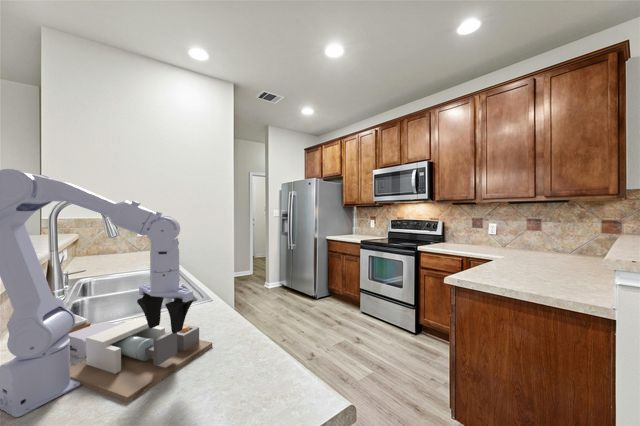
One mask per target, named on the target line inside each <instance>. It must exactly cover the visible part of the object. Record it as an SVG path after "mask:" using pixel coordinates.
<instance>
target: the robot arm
mask: <svg viewBox="0 0 640 426" xmlns="http://www.w3.org/2000/svg"><path fill="white" fill-rule="evenodd" d="M53 202H60V203H61V202H66V203H70V204H72V205H75V206H78V207H81V208H84V209H85V210H86V209H87V210H89V211H92V212H94V213H98V214H101V215H104V216H107V217H108V218H109V220H110V222H111V224H112V225H113V226H116V227H118V228H122V229H123V230H124V229H125V230H127V231H130V232H132V233H135V234H137V235H140V236H147V237H148V239H149V240H150V251H149V257H150V258H149V261H150V262H149V270H150V271H149V273H150V278H149V279H150V281H149V283H150V284H144V285H141V286H139V287H138V295H139V296H142V297H141V298H137V300H136V301H137V302H136V304H138V305H139V306H140V309H141V310H142V312H143V314H144V316H145V319H146V320H147V323H148V326H149V328H154V327H156V326H160V323H161V318H162V317H161V312H162V306H163V302H164V299H170V300H172V301H170V302H167V303H165V307H166V309H167V311H168V312H167V313H168V314H169V318H170V329H171V331H172V333H174V334H175V333H177V332H179V331H181V330H182V328H183V325H185V324H184V323H185V320H186V317H187V315H188V311H189V309H190V307H191V305H192V304H193V303H194V291H193V290H191V289H190V290H189V289H187V288H185V287H183V284H181V283H180V248H179V243H180V242H179V238H178V236H179V234H180V232H181V226H180V223H179V221H177V220H176V219H175V218H173V217H172V216H168V215H166V216H164V215H163V212H162V211H153V210H151V209H148V208H146V207H144V206H141V202H138V201H137V200H132V201H129V200H124V201H120V202H118V203H117V202H115V201H113V200H110V199H108V198H106V197H103V196H101V195H99V194H96V193H95V192H92V191H90V190H88V189H85V188H83V187H80V186H78V185H76V184H73V183H71V182H68V181H65V180H61V179H56V178H51V177H50V176H48V175H44V174H43V175H42V174H35V173H30V172H24V171H21V170H18V169H14V168H4V169H0V280H1V282H2V285H3V288H4V289H5V291H6V295H7V297H8V299H9V302H10V304H11V307H12V310H13V311H12V314H11V315H10V317H9V319H8V321H7V323H6V328H7V330H8V339H7V342H6V345H7V349H8V351H9V352H10V353H11V354H12V355H13V356H14V358H12V359H11V360H9V361H7V362H4V363H3V364H0V409H1V410H0V411H2V410H4V411H6V412H7V413H6V412H5V413H6V414H8V413H9V414H8V415H10V414H11V415H10V416H13V417H14V418H19V417H22V416H23V415H26V414H27V413H30V412H31V411H33V410H35V409H37V408H39V407H42V406H43V405H45V404H47V403H49V402H50V401H53V400H54V399H56V398H59V397H61V396H62V395H64V394H66V393H68V392H70V391H72V390H73V389H76V388H77V387H80V386H82V385H81V382H78V381H75V380H73V379H70V367H71V354H70V339H69V332H70V331H71V330H72V329H73V327H74V325H75V322H76V318H75V315H76V314H74V312H73V311H71V309H68V308H67V307H66V305H65V303H64V301H63V300H62V299H60V298H58V297H57V296H54V295H53V293H52V290H51V287H50V285H49V282H48V281H47V278H46V275H45V272H44V270H43V268H42V265H41V262H40V260H39V258H38V255H37V252H36V250H35V248H34V245H33V242H32V239H31V236H30V234H29V232H28V229H27V227H26V225H25V224H26V222H28V220H29V219H30V218H31V217H32V215H34V214H35V213H36V212H37V211H40V210H41V209H42V208H45V207H46V206H47V205H49V204H51V203H53ZM162 215H163V216H162ZM4 411H3V412H4Z"/></svg>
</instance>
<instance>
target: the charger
mask: <svg viewBox="0 0 640 426" xmlns="http://www.w3.org/2000/svg"><path fill="white" fill-rule="evenodd" d="M126 322H127V321H120V322H119V323H118V322H117V323H112V322H109V321H108V322H107V321H100V322H98V323H95V324H91V325H90V326H89V327H86V328H83V329H80V330H78V331H75V332H72V333H69V339H70V355H73V356H75V357H78V358H82V359H84V358H86V338H87V337H89V336H92V335H95V334H97V333H100V332H102V331H105V330H108V329H110V328H113V327H115V326H118V325H121V324H123V323H126Z"/></svg>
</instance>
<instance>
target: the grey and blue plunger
mask: <svg viewBox="0 0 640 426" xmlns="http://www.w3.org/2000/svg"><path fill="white" fill-rule="evenodd" d="M110 345H111V346H115V347H119V348H121V355H125V356H128V357H132V358H135V359H139V360H142V361H146V360H149V359H150V358H151V357H153V358H154V365H157V366H158V365H160V364H161V363H163V362H165V361H166V360H168V359H170V358H171V357H173V356H175V355H176V354H177V333H175V334H174V333H172V330H171V331H168V332H166V334H164V335H162V336H160V337H158V338H156V339H150V338H149V339H146V338H142V337H138V336H134V335H131V336H128V337H126V338H124V339H122V340H119V341H117V342H115V343H112V344H110Z"/></svg>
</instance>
